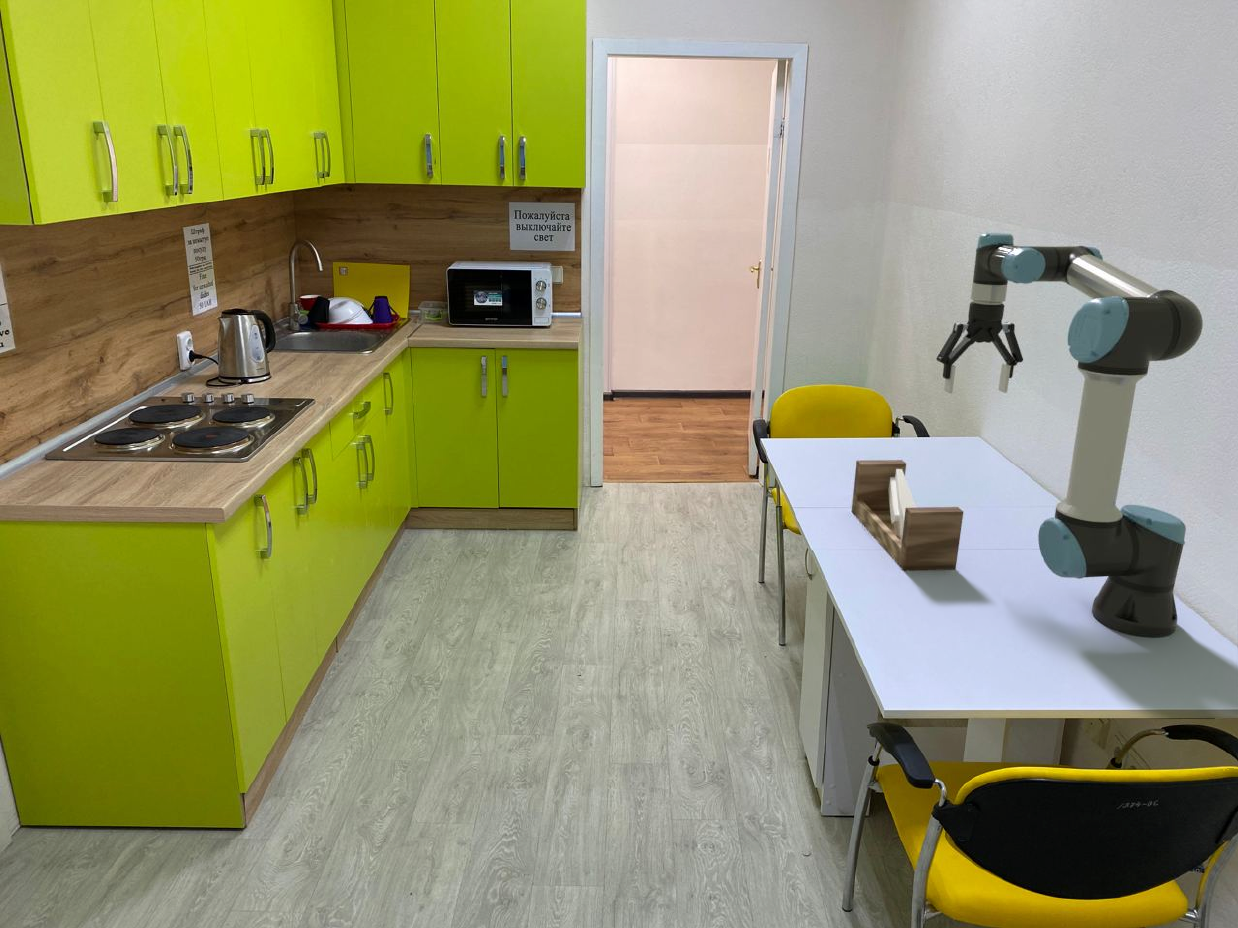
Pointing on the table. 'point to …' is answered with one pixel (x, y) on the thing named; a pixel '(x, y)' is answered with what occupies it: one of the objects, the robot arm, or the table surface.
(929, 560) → the cradle
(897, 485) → the shelf bracket
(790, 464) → the table surface
